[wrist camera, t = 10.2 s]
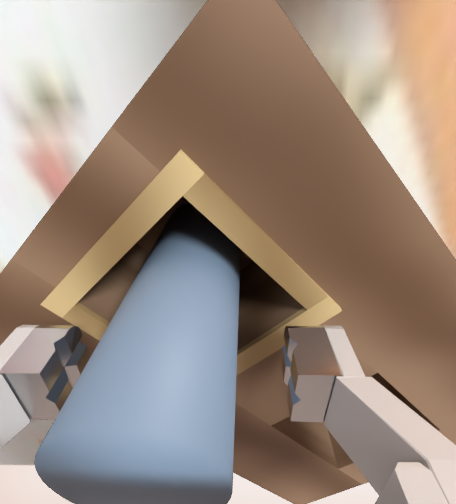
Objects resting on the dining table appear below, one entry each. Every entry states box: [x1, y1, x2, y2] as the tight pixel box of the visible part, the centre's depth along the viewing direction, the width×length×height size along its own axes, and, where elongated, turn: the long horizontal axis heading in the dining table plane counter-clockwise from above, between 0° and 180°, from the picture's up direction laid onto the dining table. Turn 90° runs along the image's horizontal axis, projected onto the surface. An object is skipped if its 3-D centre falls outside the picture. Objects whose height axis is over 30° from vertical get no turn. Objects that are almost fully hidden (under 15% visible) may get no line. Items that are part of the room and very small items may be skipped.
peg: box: [35, 202, 241, 504], centre depth 10 cm, size 4×4×10 cm
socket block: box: [0, 0, 456, 504], centre depth 14 cm, size 14×20×6 cm
